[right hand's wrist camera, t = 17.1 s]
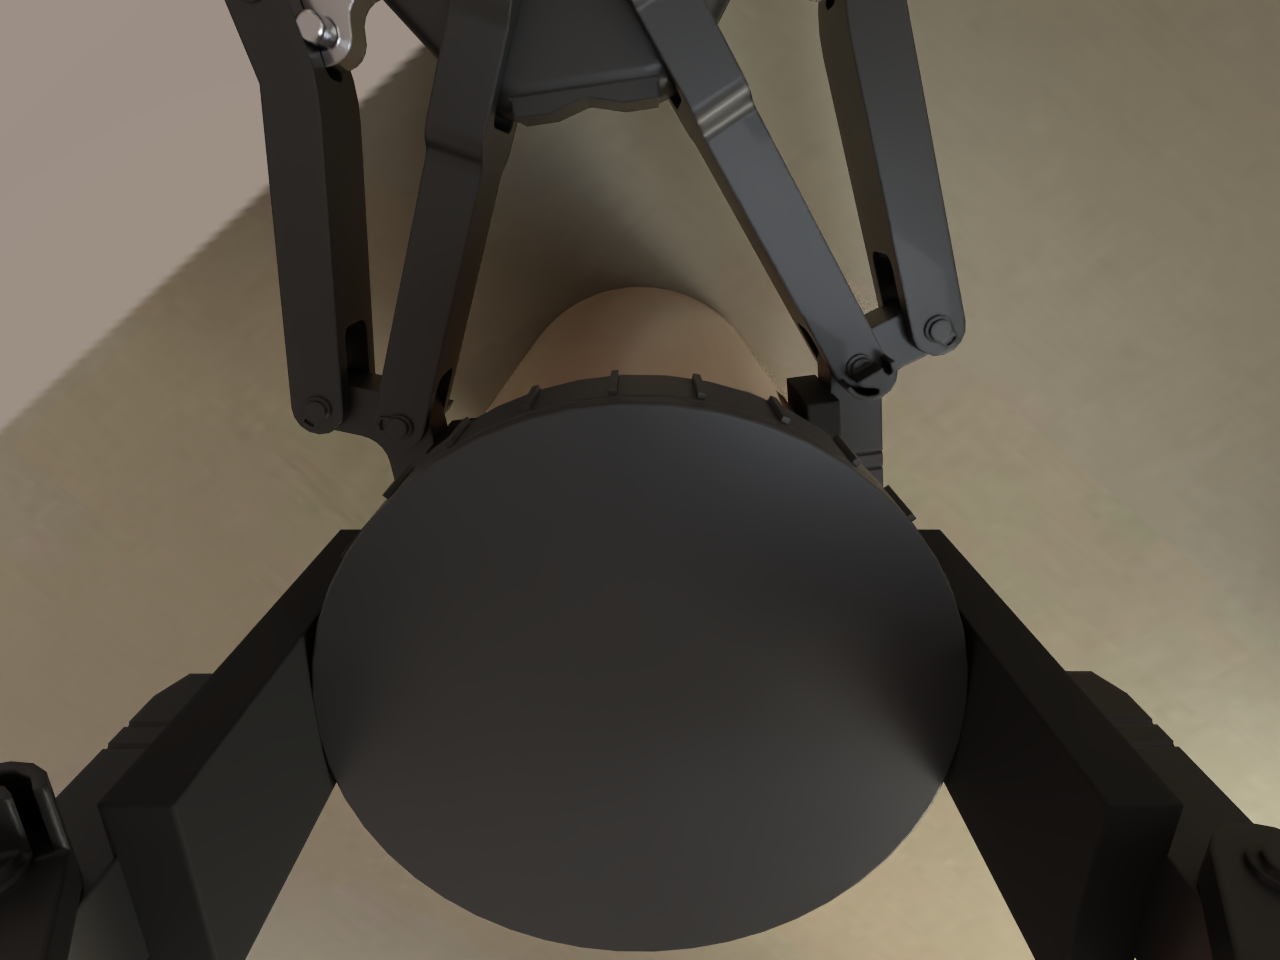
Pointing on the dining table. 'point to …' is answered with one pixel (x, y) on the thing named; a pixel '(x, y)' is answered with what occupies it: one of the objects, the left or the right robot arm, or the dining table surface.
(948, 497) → the dining table surface
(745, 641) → the lid
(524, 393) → the jar
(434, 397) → the left robot arm
